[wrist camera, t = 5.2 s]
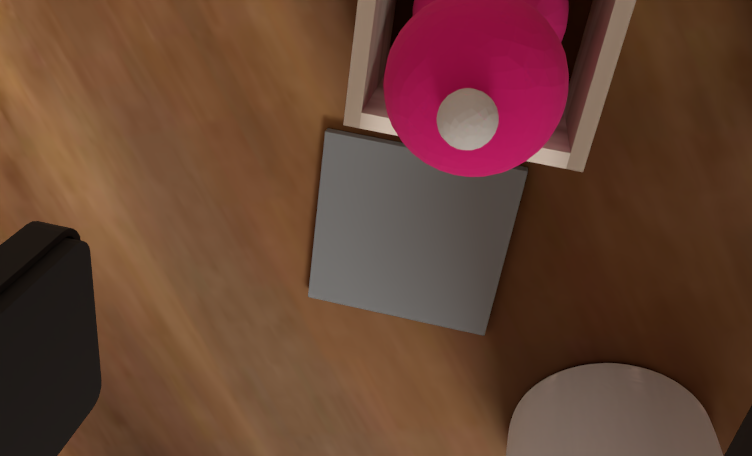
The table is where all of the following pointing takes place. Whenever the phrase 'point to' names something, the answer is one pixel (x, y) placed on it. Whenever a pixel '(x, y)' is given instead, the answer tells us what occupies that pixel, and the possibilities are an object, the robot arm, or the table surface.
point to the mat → (409, 233)
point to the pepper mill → (478, 82)
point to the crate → (583, 92)
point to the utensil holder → (610, 416)
